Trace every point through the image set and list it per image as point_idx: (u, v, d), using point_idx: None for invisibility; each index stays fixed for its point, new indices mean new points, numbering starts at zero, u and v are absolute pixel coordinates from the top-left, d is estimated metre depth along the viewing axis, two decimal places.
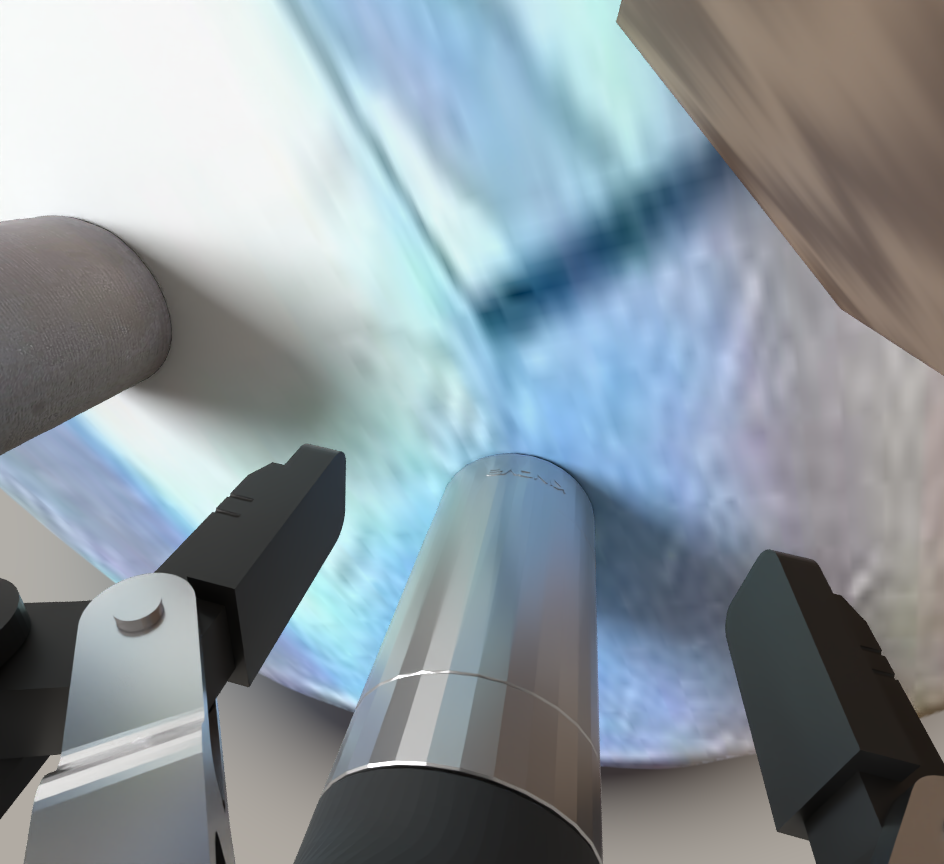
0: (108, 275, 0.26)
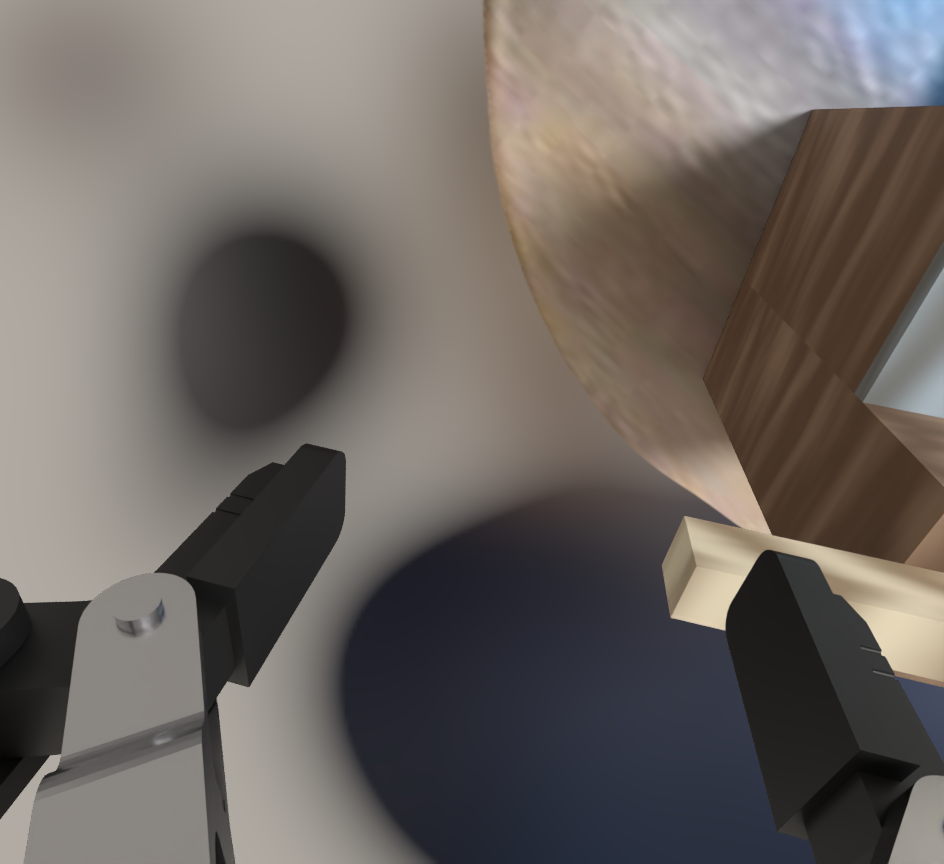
0: None
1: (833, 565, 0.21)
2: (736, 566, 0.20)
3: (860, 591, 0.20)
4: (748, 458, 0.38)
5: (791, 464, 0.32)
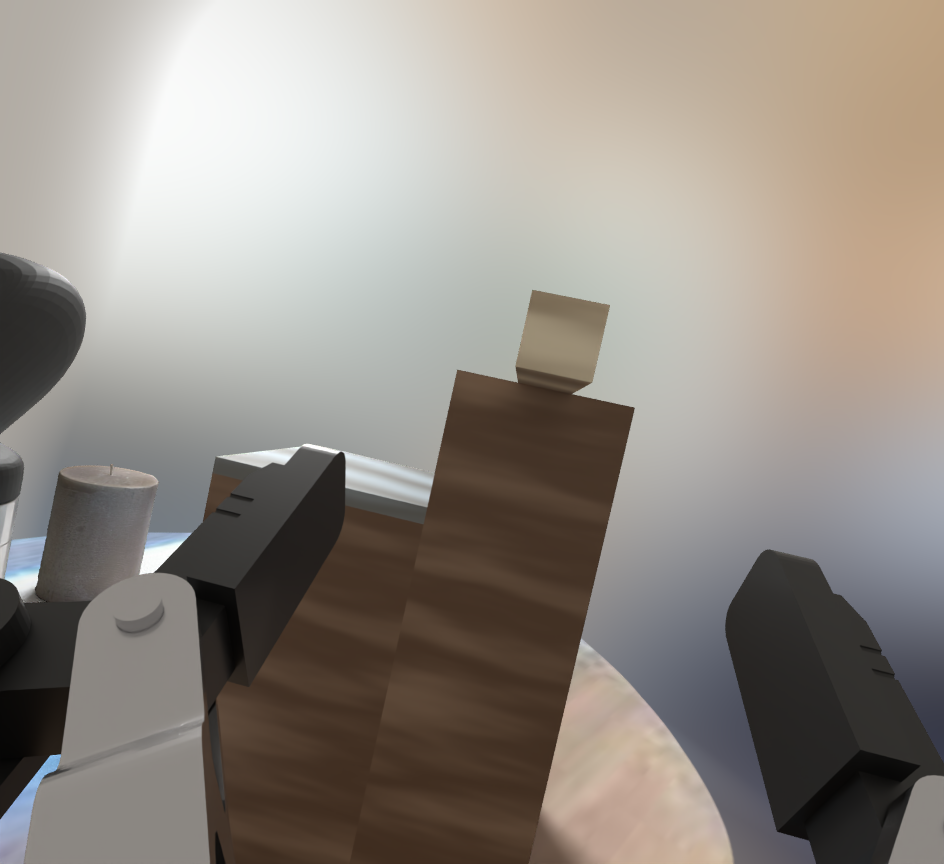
0: (118, 581, 0.59)
1: None
2: None
3: None
4: (551, 685, 0.30)
5: (518, 581, 0.30)
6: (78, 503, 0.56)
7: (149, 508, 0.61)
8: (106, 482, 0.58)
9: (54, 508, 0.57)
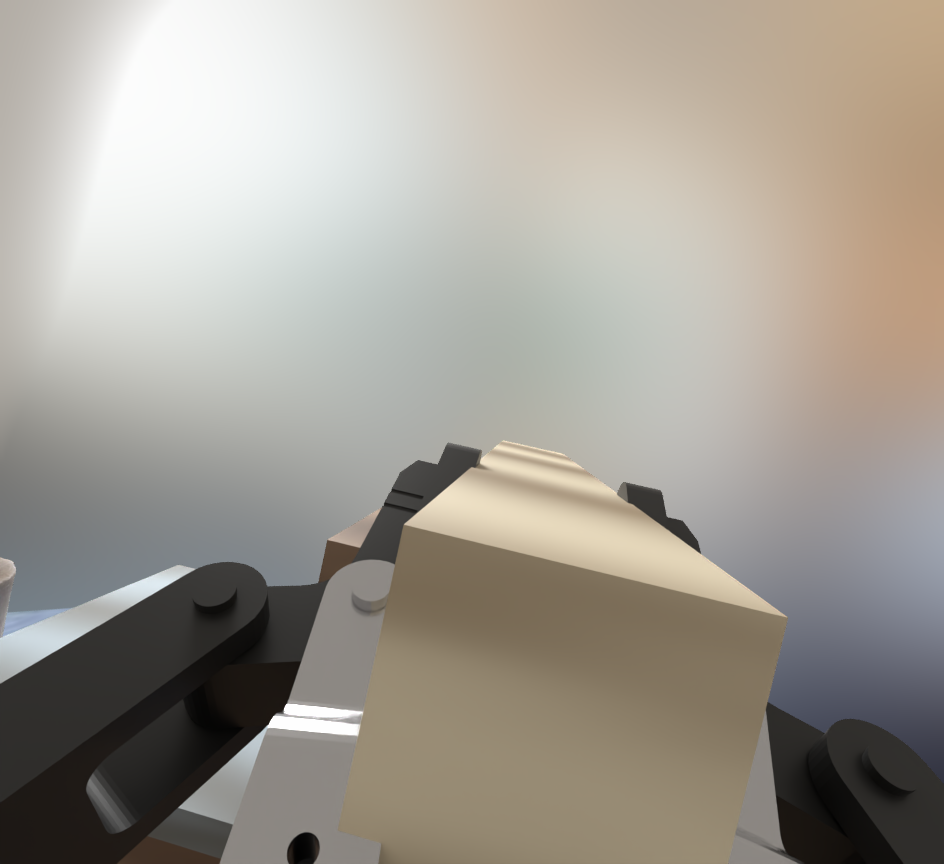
0: None
1: None
2: None
3: None
4: None
5: None
6: None
7: None
8: None
9: None
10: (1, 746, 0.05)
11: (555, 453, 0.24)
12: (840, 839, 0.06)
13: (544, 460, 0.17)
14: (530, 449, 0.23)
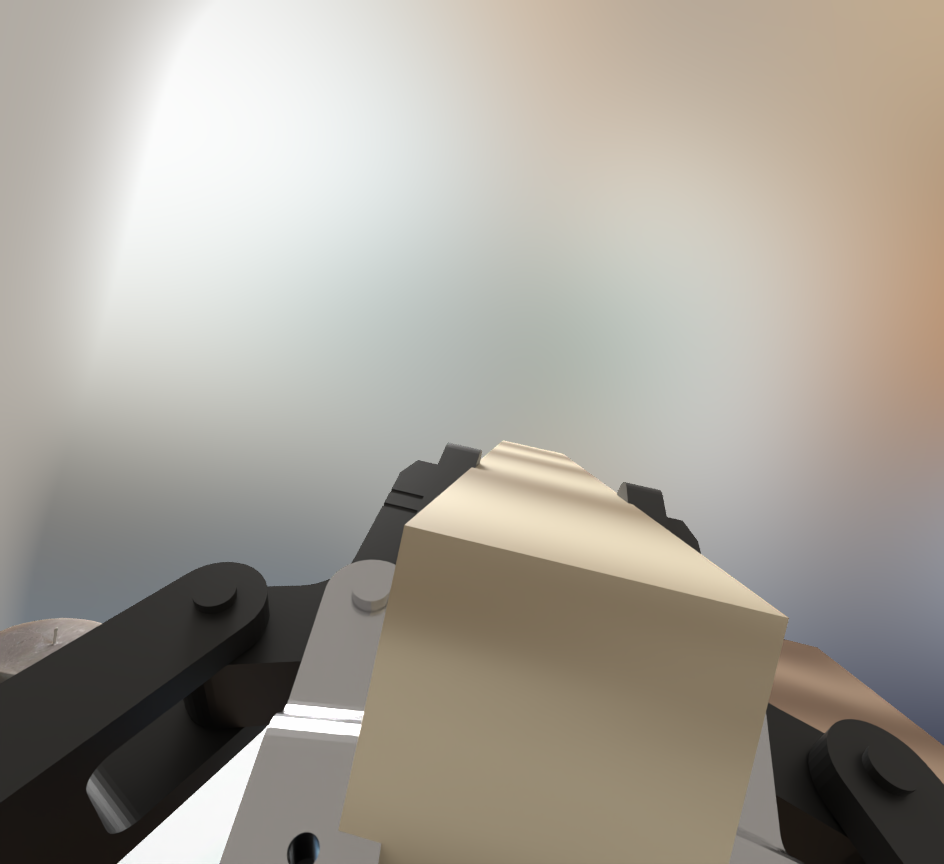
0: None
1: None
2: None
3: None
4: None
5: None
6: None
7: None
8: None
9: None
10: (0, 746, 0.05)
11: (555, 453, 0.24)
12: (840, 839, 0.06)
13: (544, 460, 0.17)
14: (530, 449, 0.23)
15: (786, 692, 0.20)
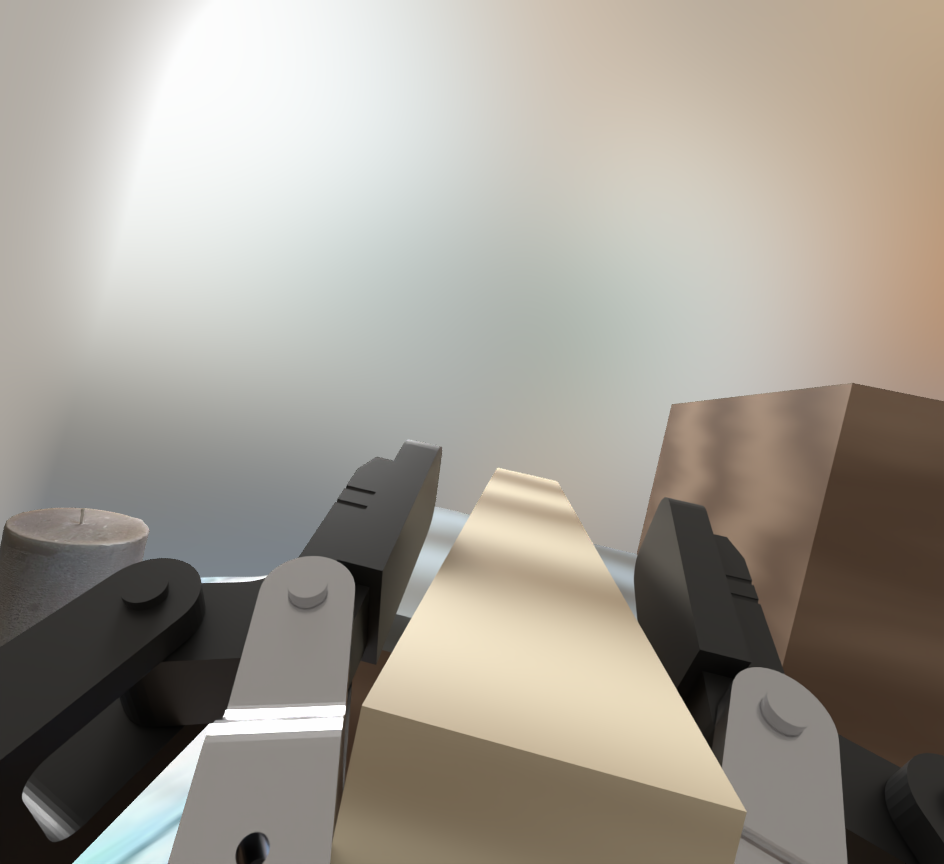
0: None
1: None
2: None
3: None
4: None
5: None
6: (31, 571, 0.38)
7: None
8: (73, 536, 0.40)
9: None
10: None
11: (549, 482, 0.24)
12: None
13: (535, 503, 0.17)
14: (523, 481, 0.23)
15: None
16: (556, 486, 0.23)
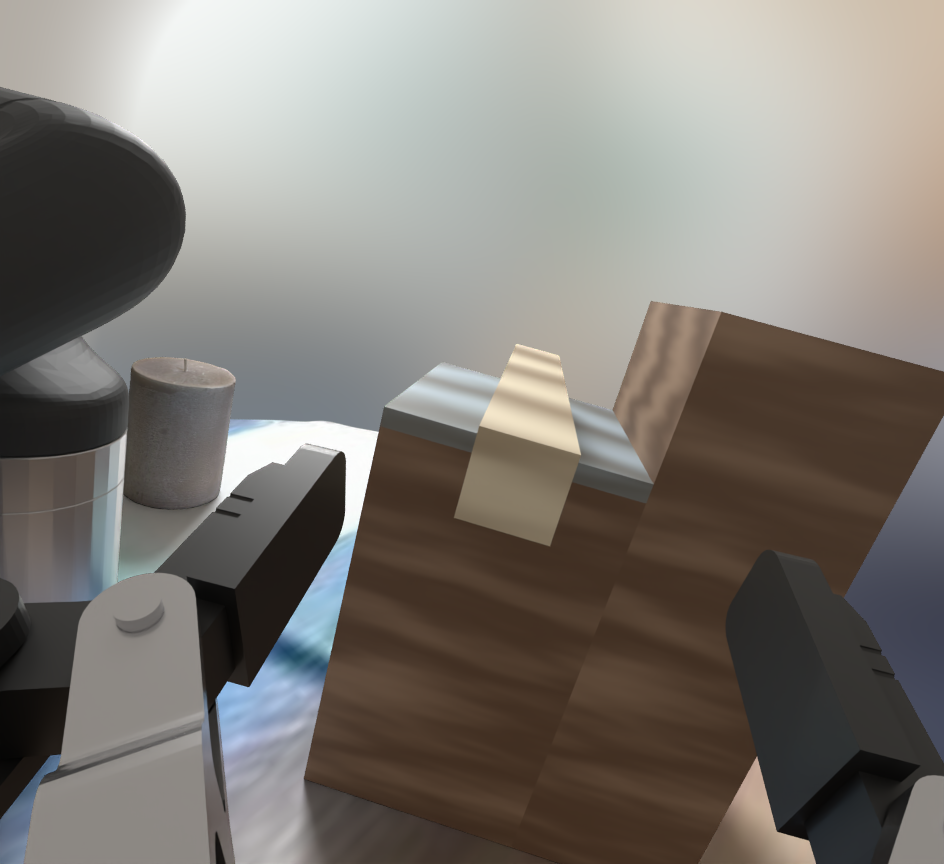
0: (206, 483, 0.56)
1: None
2: None
3: None
4: None
5: None
6: (159, 404, 0.51)
7: (229, 407, 0.56)
8: (185, 380, 0.52)
9: (132, 407, 0.52)
10: None
11: (552, 357, 0.34)
12: None
13: (539, 371, 0.27)
14: (534, 355, 0.33)
15: None
16: (557, 359, 0.34)
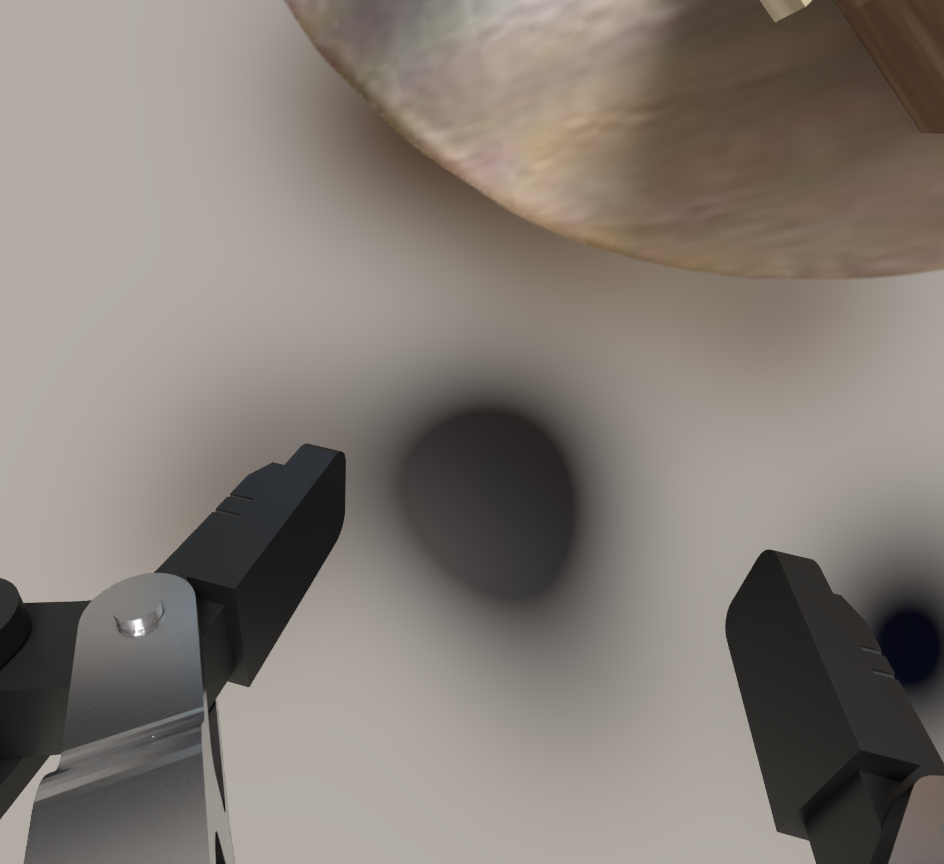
0: None
1: None
2: None
3: None
4: None
5: None
6: None
7: None
8: None
9: None
10: None
11: None
12: None
13: None
14: None
15: None
16: None
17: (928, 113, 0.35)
